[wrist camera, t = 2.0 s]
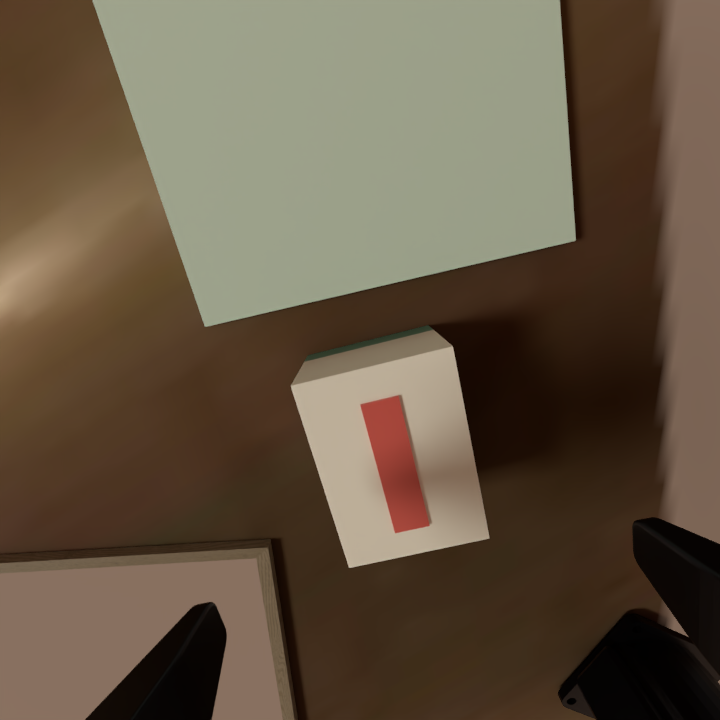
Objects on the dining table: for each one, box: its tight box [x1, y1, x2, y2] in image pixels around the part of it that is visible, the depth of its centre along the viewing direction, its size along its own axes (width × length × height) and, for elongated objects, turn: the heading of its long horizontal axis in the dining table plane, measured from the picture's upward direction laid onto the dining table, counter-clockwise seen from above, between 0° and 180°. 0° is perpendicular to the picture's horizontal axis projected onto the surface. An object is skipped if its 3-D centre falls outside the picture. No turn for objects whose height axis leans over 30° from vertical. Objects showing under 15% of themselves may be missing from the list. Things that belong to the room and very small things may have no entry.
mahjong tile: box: [291, 325, 489, 568], centre depth 13 cm, size 7×5×4 cm
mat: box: [93, 0, 576, 327], centre depth 11 cm, size 15×14×1 cm
